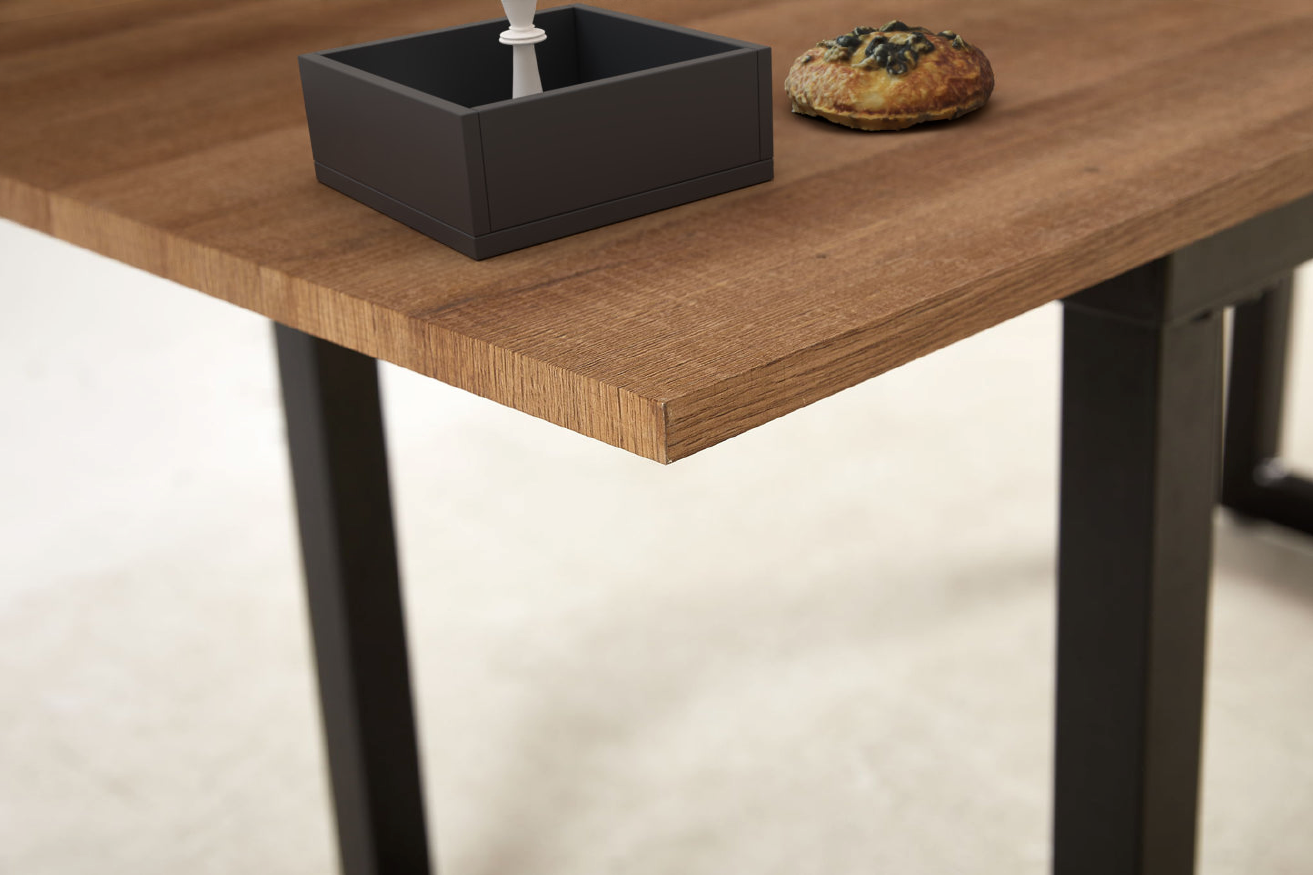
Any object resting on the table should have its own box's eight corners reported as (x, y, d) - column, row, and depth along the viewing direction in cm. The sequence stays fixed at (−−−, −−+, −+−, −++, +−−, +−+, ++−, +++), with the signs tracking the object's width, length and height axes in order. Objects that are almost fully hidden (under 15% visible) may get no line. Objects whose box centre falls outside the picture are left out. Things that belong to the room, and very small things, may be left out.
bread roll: (1037, 90, 81) (1032, -5, 79) (918, 170, 75) (908, 70, 72) (863, 73, 88) (853, -15, 86) (741, 145, 82) (726, 53, 80)
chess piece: (601, 145, 74) (585, -74, 69) (565, 176, 69) (545, -56, 65) (504, 142, 75) (483, -73, 71) (464, 172, 71) (438, -55, 66)
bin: (476, 261, 63) (460, 115, 60) (315, 180, 75) (296, 55, 72) (774, 179, 71) (772, 46, 68) (587, 117, 82) (578, 2, 80)
